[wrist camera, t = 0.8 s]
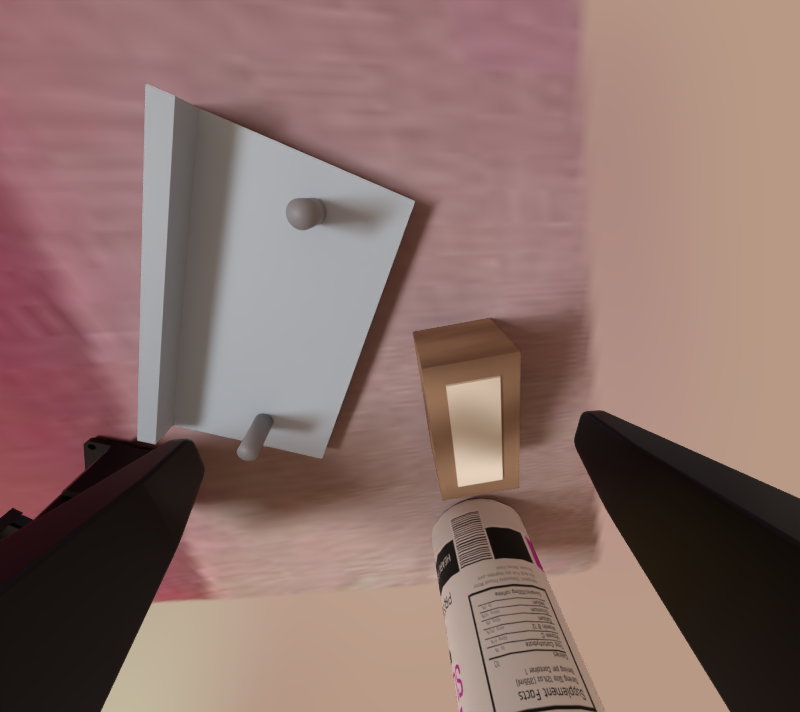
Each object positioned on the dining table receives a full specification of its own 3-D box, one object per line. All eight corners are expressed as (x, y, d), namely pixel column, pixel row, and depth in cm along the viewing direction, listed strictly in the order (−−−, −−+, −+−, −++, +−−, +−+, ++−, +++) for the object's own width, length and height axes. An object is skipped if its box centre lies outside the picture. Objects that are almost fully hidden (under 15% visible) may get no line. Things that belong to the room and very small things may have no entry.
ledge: (324, 447, 24) (314, 493, 20) (167, 410, 22) (122, 455, 18) (412, 200, 17) (422, 202, 13) (189, 104, 14) (121, 72, 11)
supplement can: (535, 518, 29) (665, 785, 16) (470, 560, 32) (536, 822, 19) (479, 480, 27) (580, 765, 13) (412, 529, 29) (441, 812, 16)
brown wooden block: (493, 435, 25) (520, 489, 20) (431, 445, 25) (443, 502, 20) (489, 316, 20) (521, 352, 16) (412, 330, 20) (422, 370, 16)
